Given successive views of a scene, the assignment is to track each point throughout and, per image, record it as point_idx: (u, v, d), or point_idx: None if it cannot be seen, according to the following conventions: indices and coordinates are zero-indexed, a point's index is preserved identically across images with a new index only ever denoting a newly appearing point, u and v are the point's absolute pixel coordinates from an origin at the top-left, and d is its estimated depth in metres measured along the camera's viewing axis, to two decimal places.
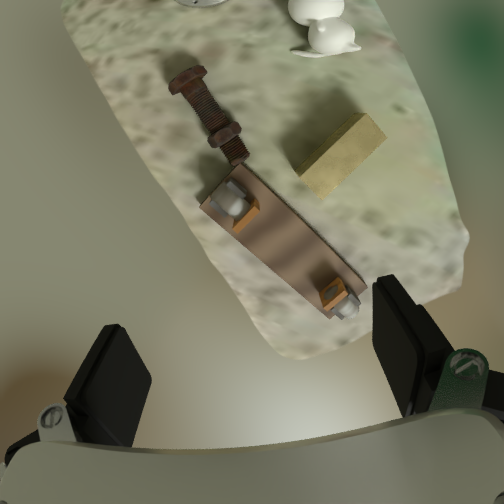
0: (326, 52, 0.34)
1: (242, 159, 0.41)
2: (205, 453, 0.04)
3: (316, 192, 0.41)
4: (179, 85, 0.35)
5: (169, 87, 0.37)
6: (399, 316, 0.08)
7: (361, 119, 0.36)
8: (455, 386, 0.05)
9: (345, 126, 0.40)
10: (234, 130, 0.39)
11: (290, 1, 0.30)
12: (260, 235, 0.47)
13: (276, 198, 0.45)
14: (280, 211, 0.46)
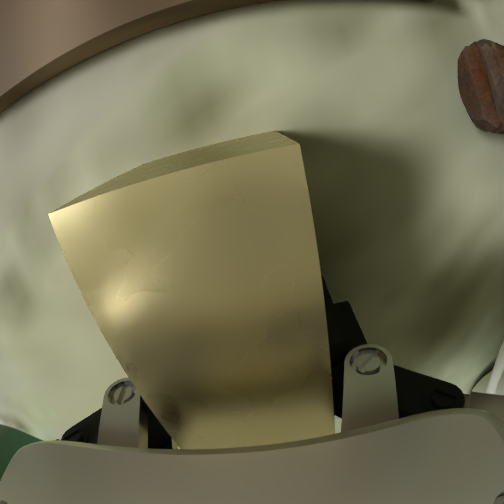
0: None
1: None
2: (205, 453, 0.04)
3: (110, 205, 0.05)
4: None
5: None
6: None
7: None
8: (362, 383, 0.06)
9: None
10: None
11: None
12: None
13: None
14: None
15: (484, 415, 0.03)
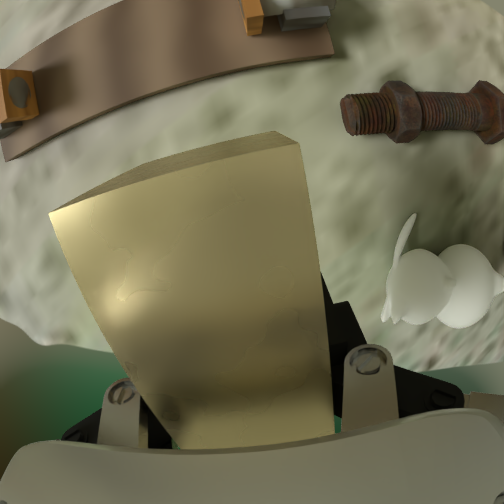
0: (405, 270, 0.23)
1: (353, 120, 0.19)
2: (205, 453, 0.04)
3: (110, 204, 0.05)
4: (500, 102, 0.16)
5: (492, 85, 0.17)
6: None
7: None
8: (362, 383, 0.06)
9: None
10: (408, 133, 0.19)
11: (486, 259, 0.22)
12: (186, 8, 0.17)
13: (233, 66, 0.19)
14: (205, 60, 0.19)
15: (484, 415, 0.03)
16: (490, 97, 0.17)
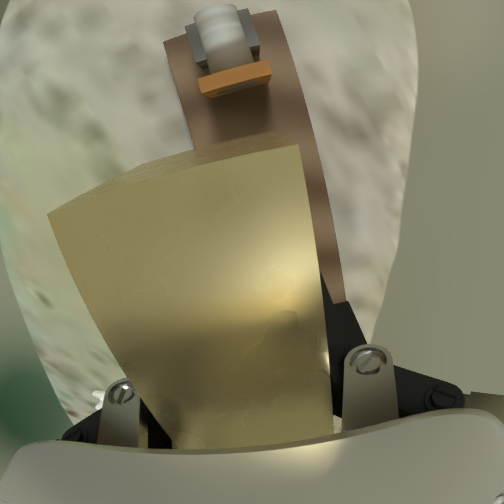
0: None
1: None
2: (205, 453, 0.04)
3: (109, 205, 0.05)
4: None
5: None
6: None
7: None
8: (362, 383, 0.06)
9: None
10: None
11: None
12: None
13: None
14: None
15: (484, 415, 0.03)
16: None
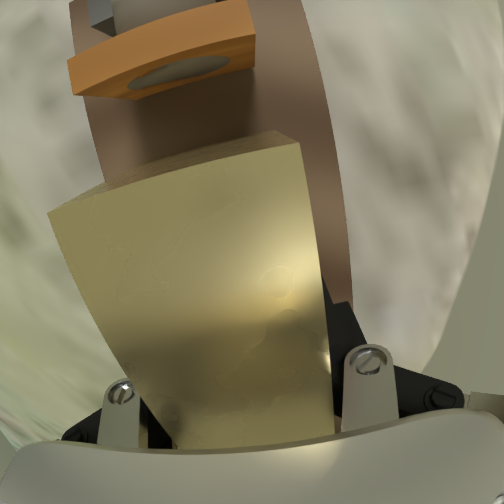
0: None
1: None
2: (205, 453, 0.04)
3: (109, 204, 0.05)
4: None
5: None
6: None
7: None
8: (362, 383, 0.06)
9: None
10: None
11: None
12: None
13: None
14: None
15: (484, 415, 0.03)
16: None
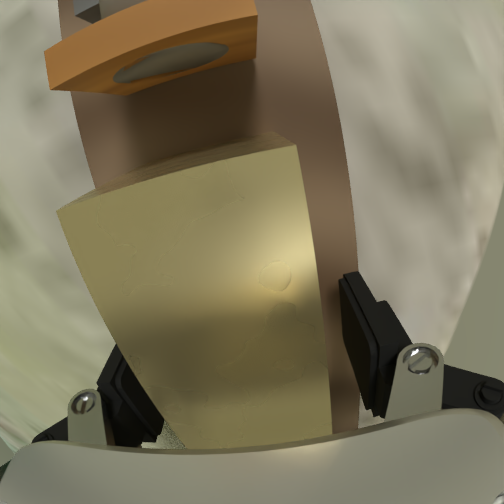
0: None
1: None
2: (205, 453, 0.04)
3: (117, 202, 0.05)
4: None
5: None
6: (358, 311, 0.08)
7: None
8: (411, 381, 0.06)
9: None
10: None
11: None
12: None
13: None
14: None
15: (484, 415, 0.03)
16: None
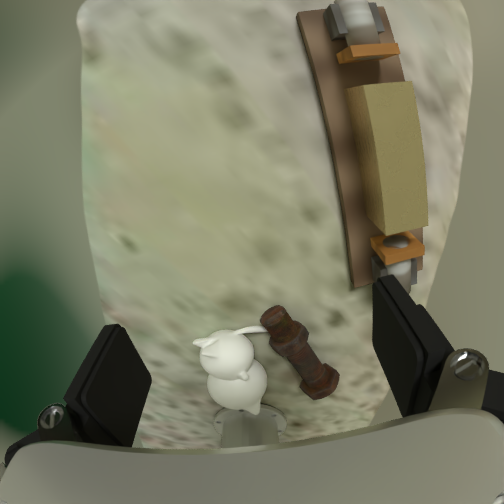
0: (238, 343, 0.34)
1: (269, 322, 0.34)
2: (205, 453, 0.04)
3: (379, 86, 0.20)
4: (327, 389, 0.37)
5: (338, 379, 0.39)
6: (399, 316, 0.08)
7: (426, 213, 0.25)
8: (455, 386, 0.05)
9: None
10: (277, 350, 0.36)
11: (264, 391, 0.37)
12: None
13: (349, 228, 0.31)
14: (356, 209, 0.30)
15: (484, 415, 0.03)
16: (328, 382, 0.38)
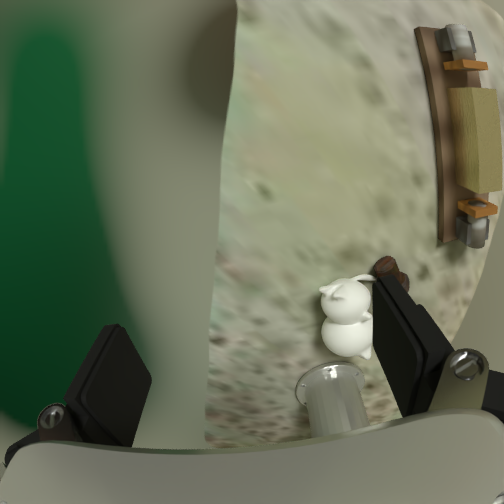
0: (360, 286, 0.38)
1: (385, 268, 0.38)
2: (205, 453, 0.04)
3: (479, 89, 0.24)
4: None
5: None
6: (399, 316, 0.08)
7: (501, 181, 0.29)
8: (455, 386, 0.05)
9: None
10: None
11: None
12: None
13: (444, 192, 0.35)
14: (450, 178, 0.34)
15: (484, 415, 0.03)
16: None
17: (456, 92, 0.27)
